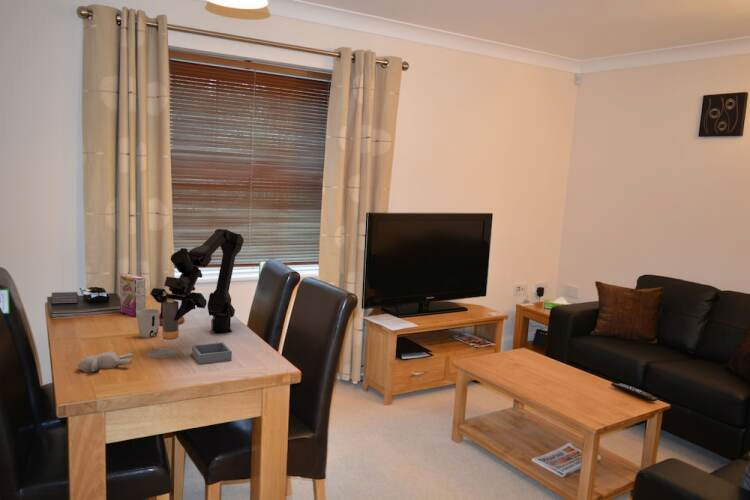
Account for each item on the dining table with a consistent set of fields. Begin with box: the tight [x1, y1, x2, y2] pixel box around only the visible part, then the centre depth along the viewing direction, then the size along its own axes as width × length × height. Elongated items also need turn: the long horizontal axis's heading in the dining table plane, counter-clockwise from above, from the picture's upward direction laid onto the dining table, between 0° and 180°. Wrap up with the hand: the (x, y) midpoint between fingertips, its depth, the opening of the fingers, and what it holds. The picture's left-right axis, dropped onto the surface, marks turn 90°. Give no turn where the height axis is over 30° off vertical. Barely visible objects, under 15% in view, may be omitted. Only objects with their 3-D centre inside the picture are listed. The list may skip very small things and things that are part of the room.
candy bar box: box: [119, 273, 146, 318], centre depth 239 cm, size 11×5×16 cm, turn 58°
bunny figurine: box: [77, 350, 134, 373], centre depth 177 cm, size 10×5×15 cm
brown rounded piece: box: [159, 316, 185, 327], centre depth 231 cm, size 12×12×7 cm
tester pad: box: [145, 347, 179, 359], centre depth 191 cm, size 10×10×1 cm
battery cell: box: [161, 299, 180, 341], centre depth 189 cm, size 5×5×13 cm
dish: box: [191, 341, 233, 365], centre depth 190 cm, size 11×11×4 cm
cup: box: [136, 308, 161, 339], centre depth 209 cm, size 8×8×10 cm
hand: (168, 319), depth 187 cm, fingers closed on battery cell, 5 cm apart
